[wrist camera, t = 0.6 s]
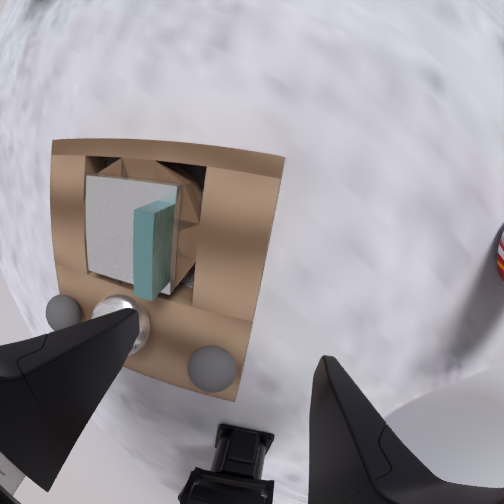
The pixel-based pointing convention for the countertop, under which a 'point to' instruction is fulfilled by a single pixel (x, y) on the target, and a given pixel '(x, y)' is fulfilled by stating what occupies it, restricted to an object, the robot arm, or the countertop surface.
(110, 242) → the cover
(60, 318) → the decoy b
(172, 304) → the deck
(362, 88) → the countertop surface
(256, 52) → the countertop surface
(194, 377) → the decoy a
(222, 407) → the countertop surface
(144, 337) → the ball
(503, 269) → the soda can
